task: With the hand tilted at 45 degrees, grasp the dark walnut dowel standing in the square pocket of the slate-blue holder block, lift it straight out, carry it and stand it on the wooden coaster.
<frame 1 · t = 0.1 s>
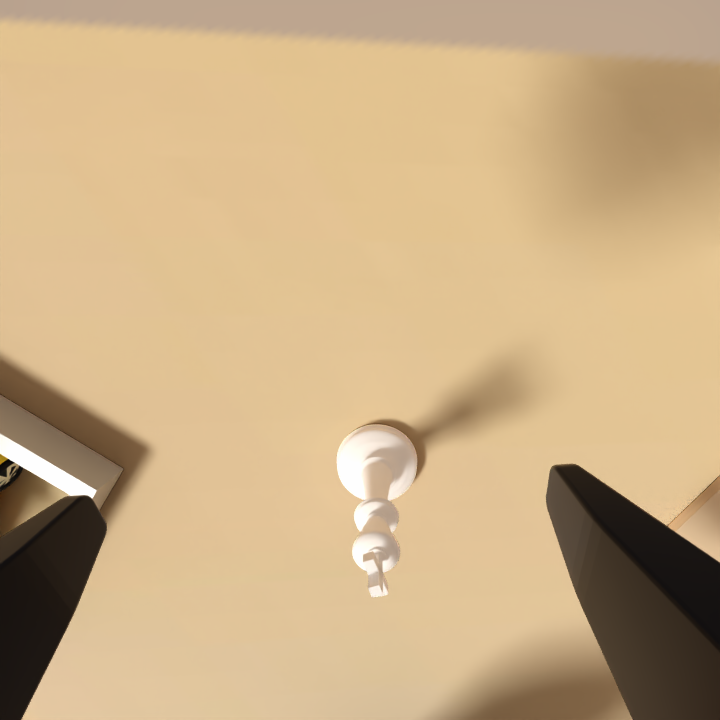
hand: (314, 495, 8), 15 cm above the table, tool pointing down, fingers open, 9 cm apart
chess piece: (376, 459, 25), on the table
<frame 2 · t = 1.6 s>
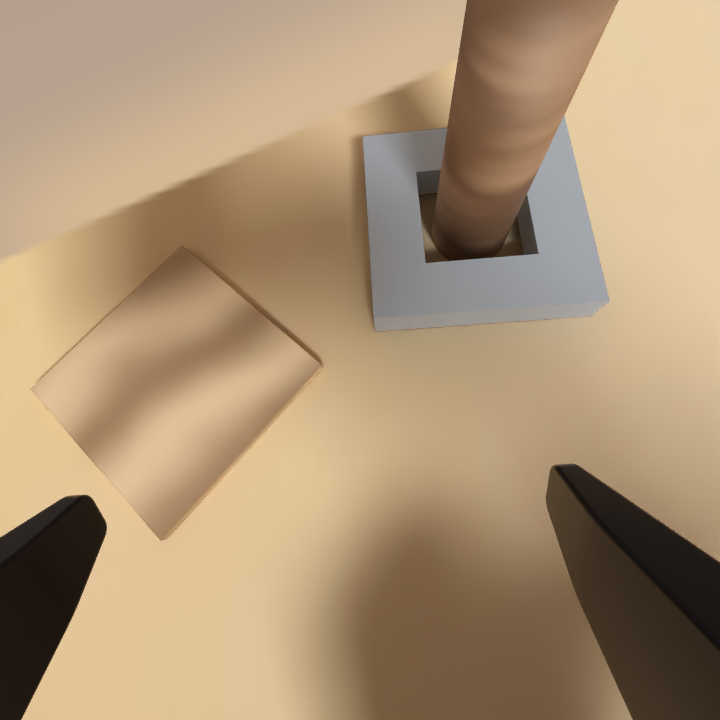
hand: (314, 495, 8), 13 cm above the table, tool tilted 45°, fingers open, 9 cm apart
walnut dowel: (493, 147, 18), in the holder block
holder block: (468, 231, 24), on the table
wooden coaster: (177, 379, 23), on the table
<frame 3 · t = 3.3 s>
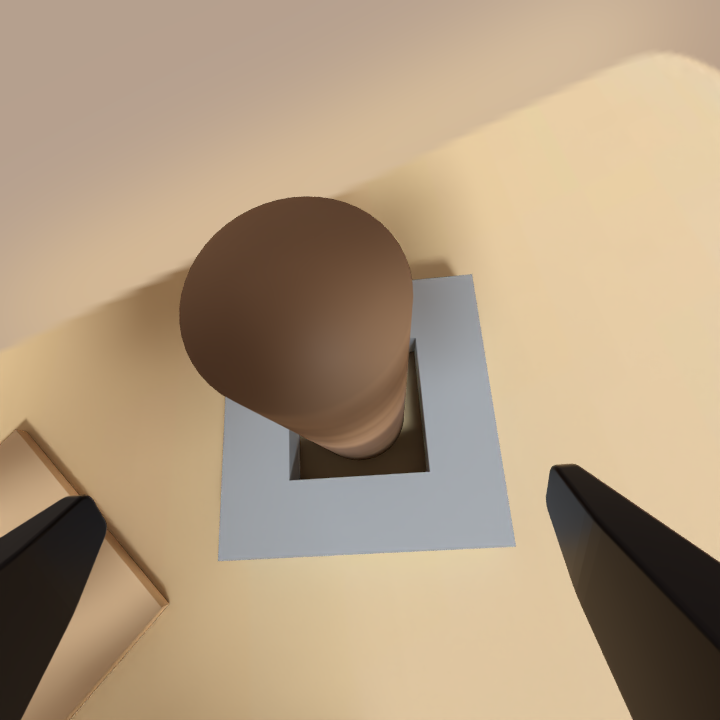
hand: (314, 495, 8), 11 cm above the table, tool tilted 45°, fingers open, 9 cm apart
walnut dowel: (341, 381, 14), in the holder block
holder block: (359, 414, 20), on the table
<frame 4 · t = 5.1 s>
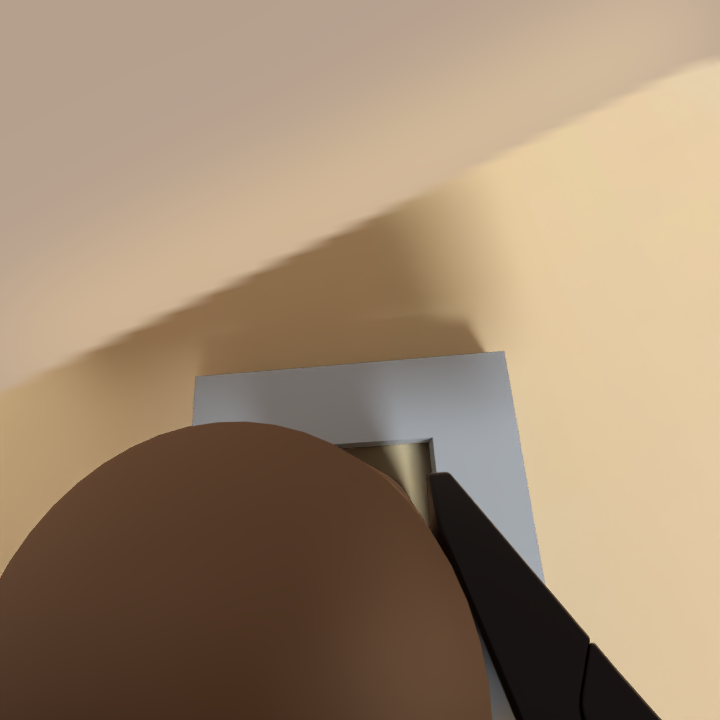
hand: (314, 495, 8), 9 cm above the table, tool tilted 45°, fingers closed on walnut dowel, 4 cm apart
walnut dowel: (334, 555, 9), in the holder block, touching gripper
holder block: (359, 526, 16), on the table
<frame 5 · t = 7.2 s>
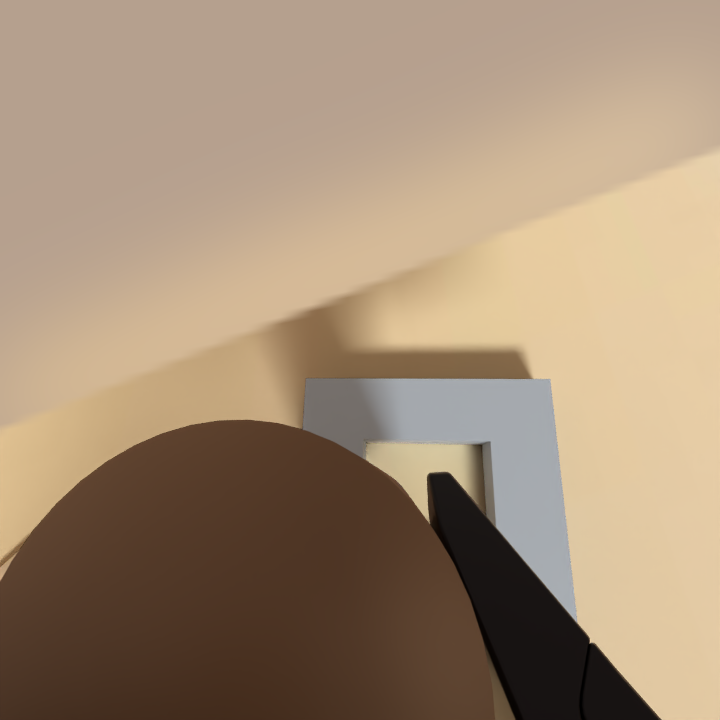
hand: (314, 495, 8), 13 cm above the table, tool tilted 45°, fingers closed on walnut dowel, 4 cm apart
walnut dowel: (335, 554, 9), point 11 cm above the table, touching gripper
holder block: (424, 504, 20), on the table
when the fingers open (10 cm above the table, at t = 9.5 s): walnut dowel stays where it is, resting on wooden coaster.
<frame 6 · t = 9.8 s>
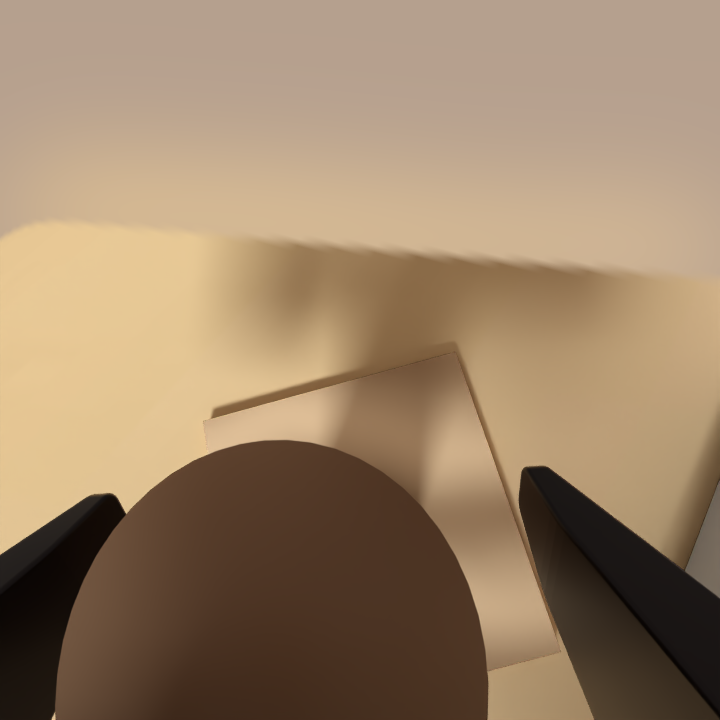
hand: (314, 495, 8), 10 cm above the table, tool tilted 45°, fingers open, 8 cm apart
walnut dowel: (342, 551, 10), on the wooden coaster, point 7 cm above the table
wooden coaster: (362, 521, 17), on the table
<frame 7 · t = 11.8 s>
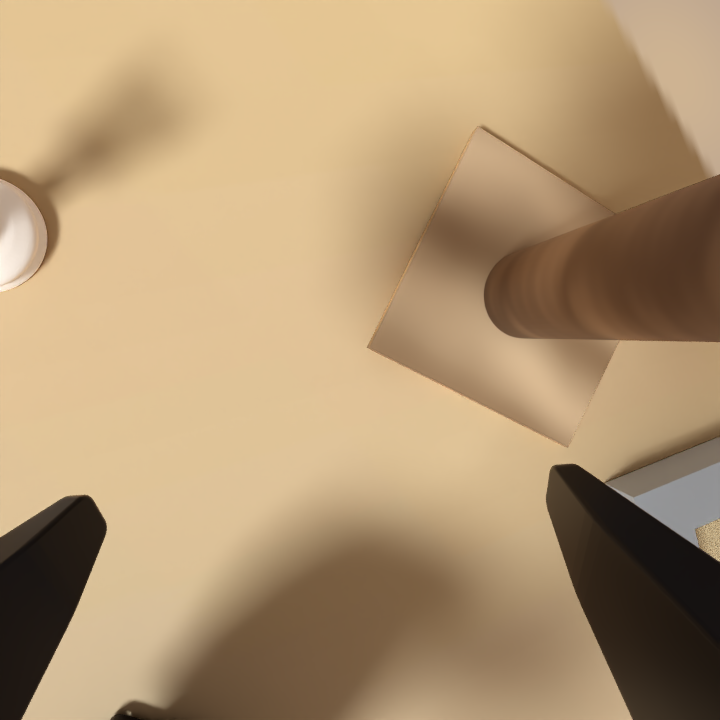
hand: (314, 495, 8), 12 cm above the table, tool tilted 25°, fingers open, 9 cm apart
walnut dowel: (628, 277, 14), on the wooden coaster, point 7 cm above the table
holder block: (714, 540, 24), on the table
wooden coaster: (518, 295, 21), on the table
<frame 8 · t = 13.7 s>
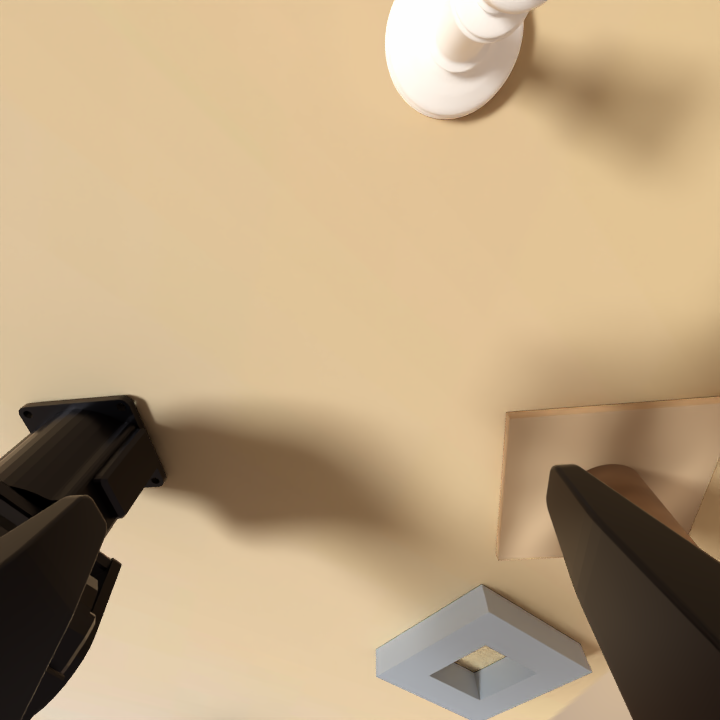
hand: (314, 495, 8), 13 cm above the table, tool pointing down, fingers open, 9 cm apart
walnut dowel: (675, 598, 19), on the wooden coaster, point 7 cm above the table
holder block: (476, 646, 34), on the table
chess piece: (450, 43, 15), on the table
wooden coaster: (599, 484, 25), on the table
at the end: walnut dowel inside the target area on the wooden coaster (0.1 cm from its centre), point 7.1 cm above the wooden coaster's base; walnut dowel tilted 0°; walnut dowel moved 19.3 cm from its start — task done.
